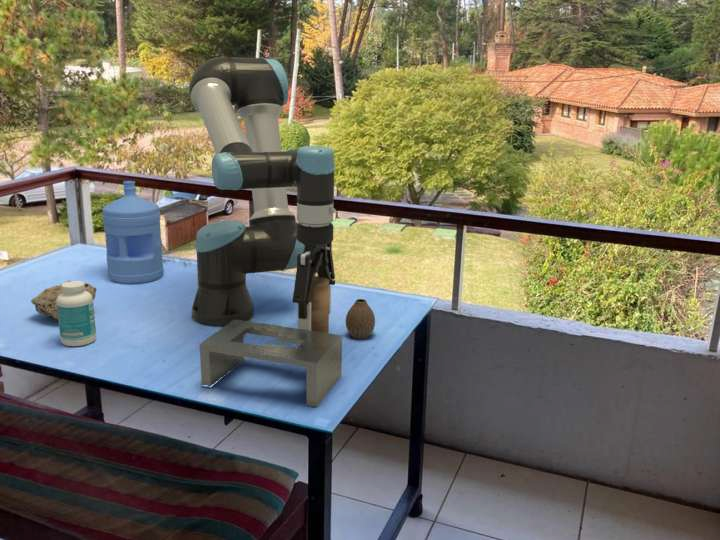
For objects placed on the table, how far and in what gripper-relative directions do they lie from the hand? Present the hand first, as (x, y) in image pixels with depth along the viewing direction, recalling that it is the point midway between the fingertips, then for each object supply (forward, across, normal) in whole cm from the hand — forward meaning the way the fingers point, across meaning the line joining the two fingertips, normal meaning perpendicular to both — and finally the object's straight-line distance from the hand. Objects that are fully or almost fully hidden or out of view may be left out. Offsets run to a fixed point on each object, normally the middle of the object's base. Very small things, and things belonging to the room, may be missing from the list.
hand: (314, 322), depth 144 cm
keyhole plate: (+8, -15, +3) cm, 17 cm away
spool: (+8, 0, 0) cm, 8 cm away
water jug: (+8, +33, +69) cm, 77 cm away
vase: (+8, +14, -6) cm, 17 cm away
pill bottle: (+8, -12, +52) cm, 54 cm away
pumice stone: (+8, 0, +65) cm, 65 cm away
